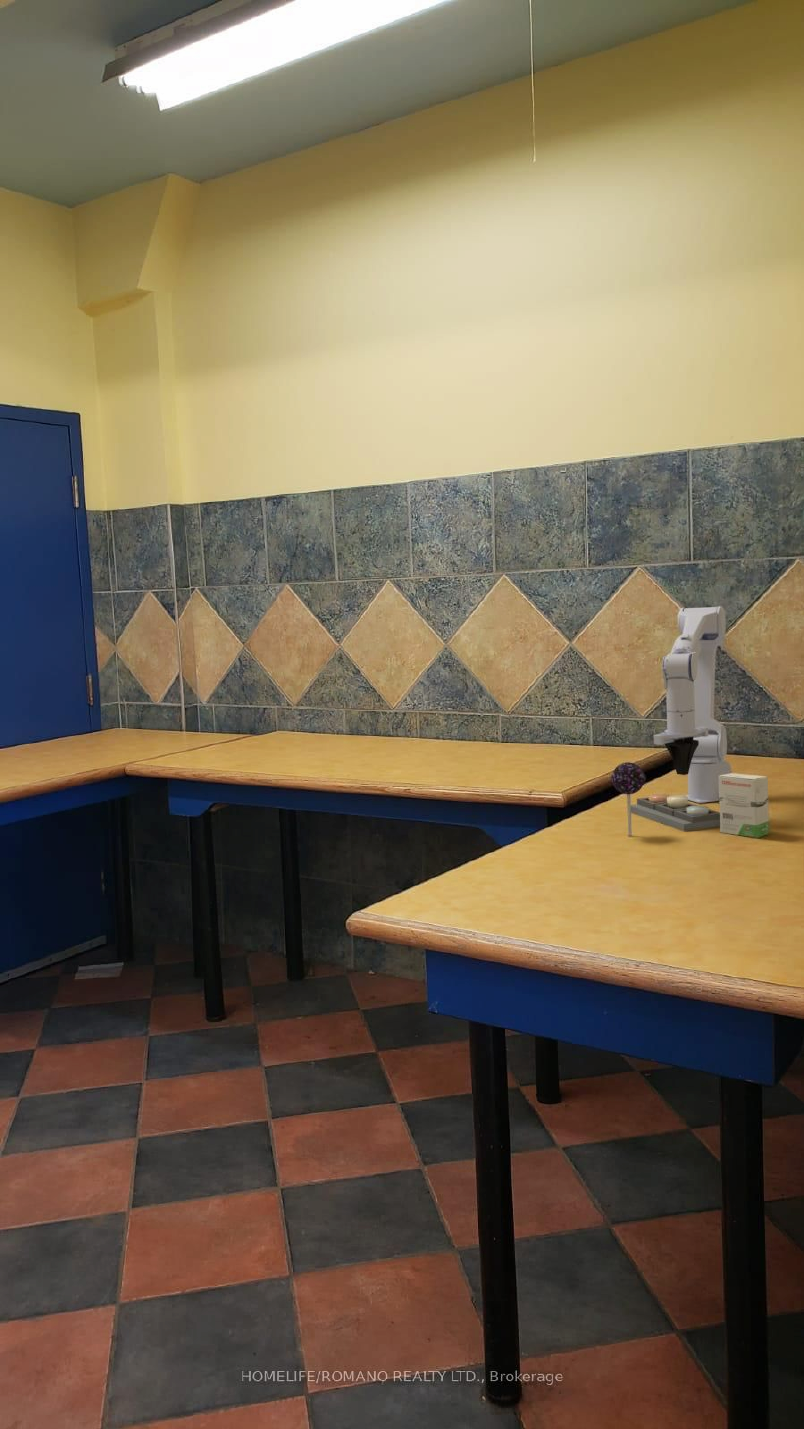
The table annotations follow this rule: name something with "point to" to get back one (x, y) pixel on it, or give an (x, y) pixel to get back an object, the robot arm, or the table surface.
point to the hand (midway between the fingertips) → (682, 774)
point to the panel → (675, 815)
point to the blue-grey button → (697, 810)
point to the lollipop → (628, 783)
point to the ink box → (744, 805)
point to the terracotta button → (658, 798)
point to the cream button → (677, 801)
